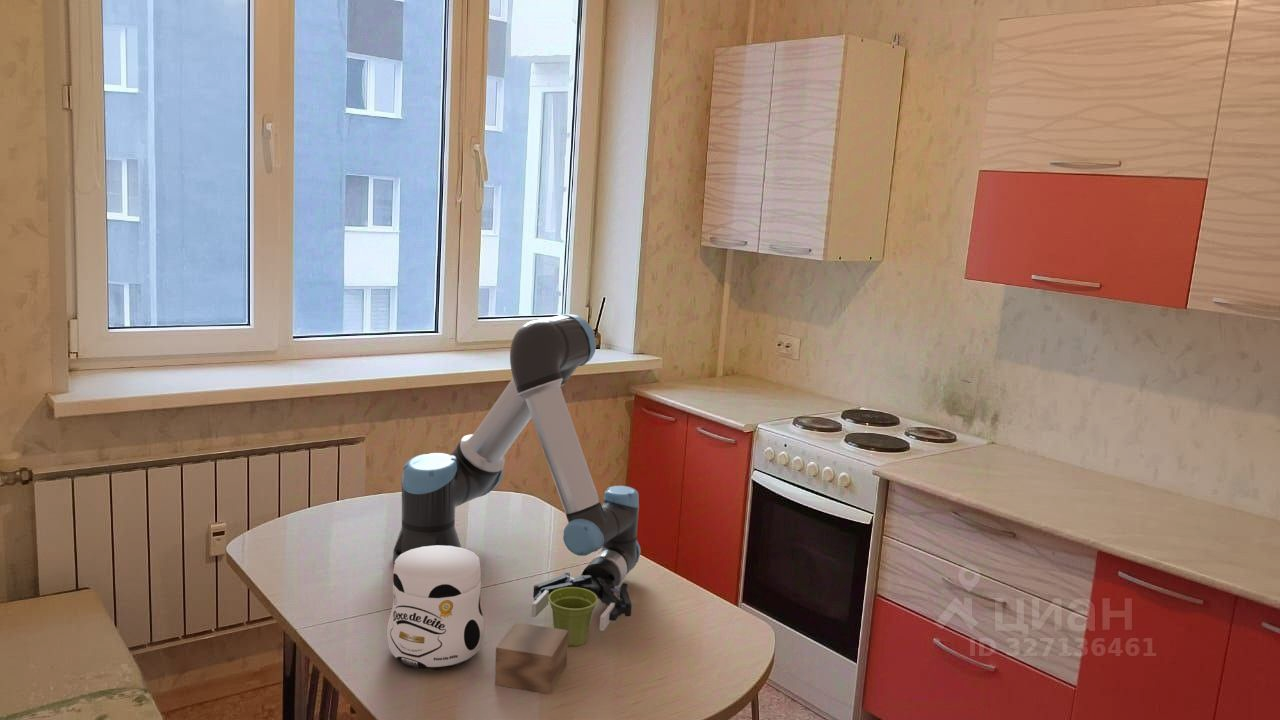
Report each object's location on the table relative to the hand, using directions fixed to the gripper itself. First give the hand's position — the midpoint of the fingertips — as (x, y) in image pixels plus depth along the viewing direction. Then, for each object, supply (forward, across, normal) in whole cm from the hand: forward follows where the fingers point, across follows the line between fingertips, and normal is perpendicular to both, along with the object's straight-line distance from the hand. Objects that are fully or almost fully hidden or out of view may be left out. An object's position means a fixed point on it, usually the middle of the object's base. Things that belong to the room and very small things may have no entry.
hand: (567, 617), depth 182 cm
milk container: (+12, +21, -6) cm, 25 cm away
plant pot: (-3, 0, -6) cm, 7 cm away
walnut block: (+12, +2, -6) cm, 14 cm away
